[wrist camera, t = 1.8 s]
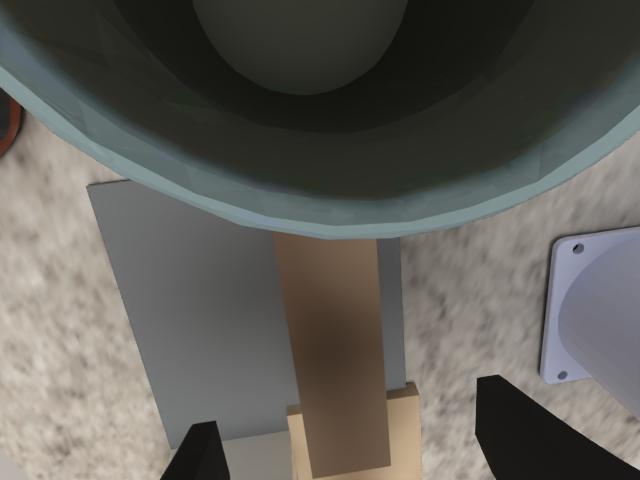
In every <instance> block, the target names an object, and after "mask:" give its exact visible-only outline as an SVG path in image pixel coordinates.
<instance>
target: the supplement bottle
mask: <svg viewBox="0 0 640 480" xmlns="http://www.w3.org/2000/svg"><path fill="white" fill-rule="evenodd" d="M20 117H21V105H20V104H19V103H18V102H17V101H16V100H15V99H14V98H12V97H11V96H10V95H9V94H8V93H7V92H6V91H4V90H3V89H2V88H1V87H0V157H1V156H2V155H3V154H4V153H5V151H6V150H7V149H8V148H9V147H10V145H11V143H12V142H13V140H14V138H15V136H16V133H17V131H18V129H19V126H20Z"/></svg>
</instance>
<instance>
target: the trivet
mask: <svg viewBox="0 0 640 480" xmlns="http://www.w3.org/2000/svg"><path fill="white" fill-rule="evenodd" d="M386 396H387V411H388V426H389V441H390V456H391V466H388V467H382V468H376V469H370V470H364V471H358V472H352V473H346V474H340V475H335V476H329V477H323V478H317V479H313V478H312V472H311V466H310V460H309V454H308V448H307V442H306V436H305V430H304V423H303V417H302V411H301V405H297V406H290V407H287V419H288V425H289V430H290V436H291V441H292V447H293V453H294V458H295V464H296V469H297V475H298V480H422V461H421V426H420V395H419V393H418V390H417V388H416V386H415V384H414V383H408V384H406V388H404V389H397V390H391V391H386Z"/></svg>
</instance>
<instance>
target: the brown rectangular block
mask: <svg viewBox="0 0 640 480" xmlns="http://www.w3.org/2000/svg"><path fill="white" fill-rule="evenodd" d="M272 234H273V240H274V246H275V252H276V258H277V264H278V270H279V276H280V283H281V289H282V295H283V301H284V307H285V313H286V319H287V325H288V332H289V338H290V344H291V350H292V356H293V362H294V368H295V374H296V381H297V387H298V393H299V399H300V405H301V411H302V417H303V423H304V430H305V436H306V442H307V448H308V454H309V460H310V466H311V472H312V478H313V479H317V478H323V477H329V476H335V475H340V474H346V473H352V472H358V471H364V470H370V469H376V468H382V467H388V466H391V456H390V441H389V426H388V411H387V396H386V380H385V365H384V350H383V335H382V320H381V305H380V289H379V274H378V259H377V244H376V239H331V240H327V239H321V238H315V237H309V236H303V235H297V234H291V233H284V232H278V231H272Z"/></svg>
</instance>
